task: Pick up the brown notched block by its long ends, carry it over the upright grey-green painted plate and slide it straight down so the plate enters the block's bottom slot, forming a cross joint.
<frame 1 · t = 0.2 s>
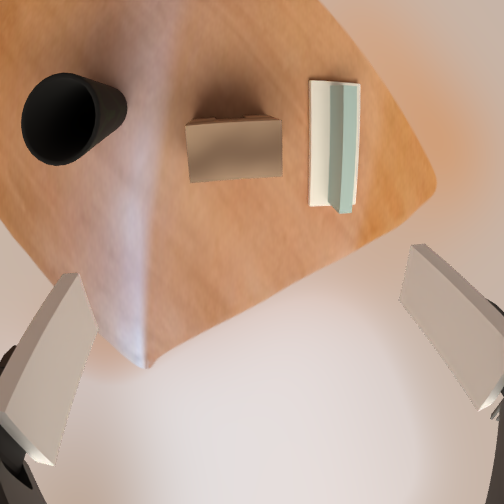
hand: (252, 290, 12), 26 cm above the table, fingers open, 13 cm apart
brown notched block: (230, 137, 34), on the table
slot plate: (333, 143, 35), on the table
cup: (104, 110, 31), on the table
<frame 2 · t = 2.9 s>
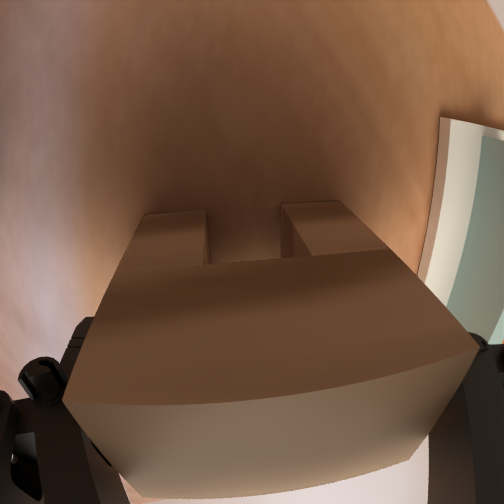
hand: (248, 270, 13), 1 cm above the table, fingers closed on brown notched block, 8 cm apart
brown notched block: (246, 261, 14), on the table, touching gripper
slot plate: (459, 257, 15), on the table
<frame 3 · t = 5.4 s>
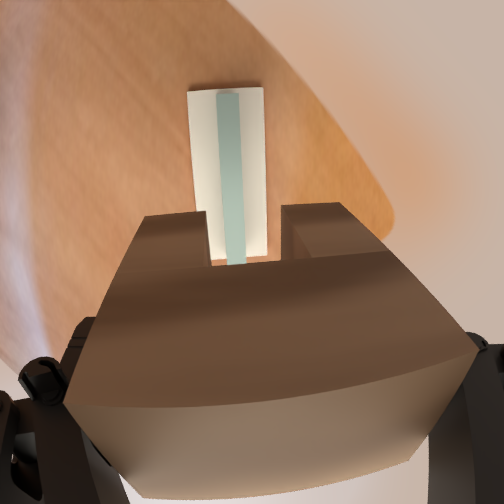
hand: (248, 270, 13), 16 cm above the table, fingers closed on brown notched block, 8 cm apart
brown notched block: (246, 262, 14), point 15 cm above the table, touching gripper
slot plate: (229, 175, 27), on the table
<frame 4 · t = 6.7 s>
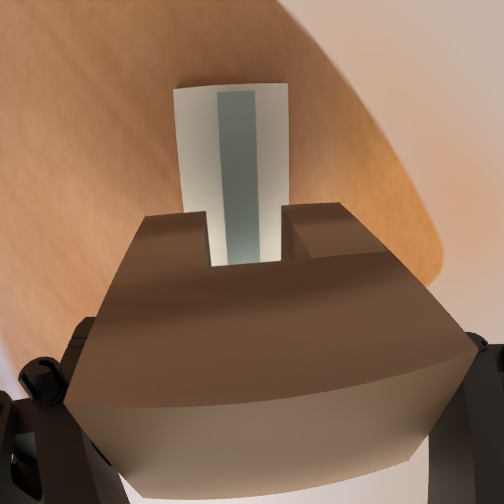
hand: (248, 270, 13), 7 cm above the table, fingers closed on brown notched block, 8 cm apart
brown notched block: (246, 263, 14), point 6 cm above the table, touching gripper
slot plate: (236, 212, 19), on the table
when the fingers open (3 cm above the table, at t = 7.9 s): brown notched block drops 1 cm, resting on slot plate.
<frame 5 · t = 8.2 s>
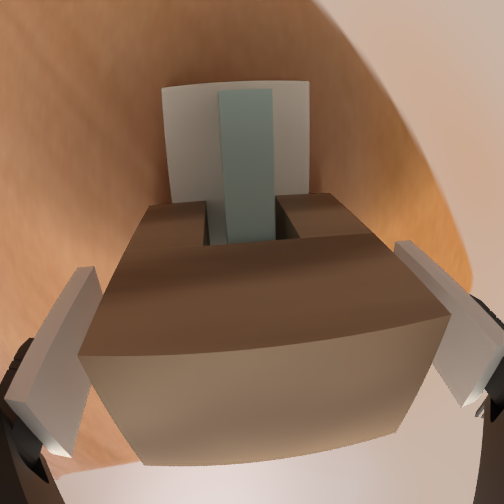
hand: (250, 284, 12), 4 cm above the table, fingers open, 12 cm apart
brown notched block: (243, 249, 15), point 1 cm above the table, touching slot plate
slot plate: (242, 242, 16), on the table
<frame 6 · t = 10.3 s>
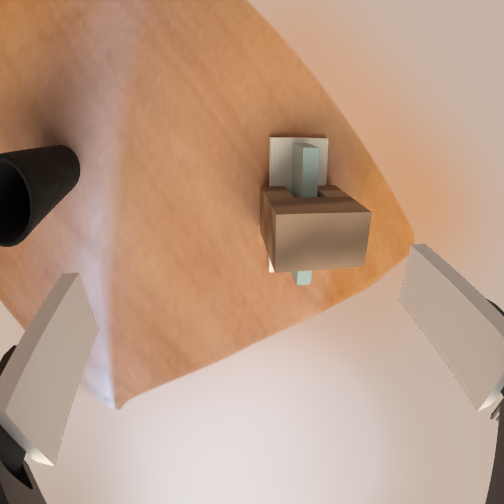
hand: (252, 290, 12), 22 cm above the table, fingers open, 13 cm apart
brown notched block: (297, 208, 34), point 1 cm above the table, touching slot plate
slot plate: (296, 206, 34), on the table
cup: (59, 169, 30), on the table
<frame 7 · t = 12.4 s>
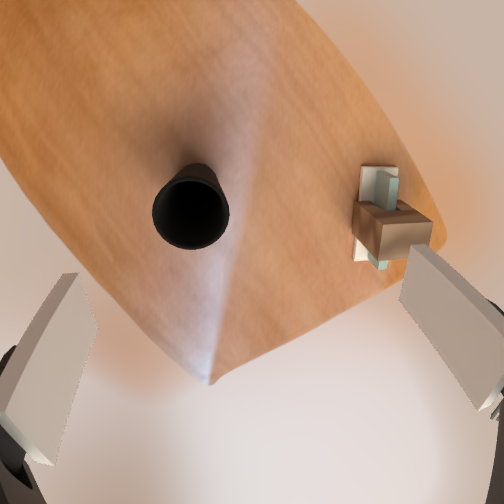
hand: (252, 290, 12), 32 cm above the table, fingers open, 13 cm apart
brown notched block: (376, 215, 46), point 1 cm above the table, touching slot plate
slot plate: (374, 214, 46), on the table
cup: (196, 183, 42), on the table
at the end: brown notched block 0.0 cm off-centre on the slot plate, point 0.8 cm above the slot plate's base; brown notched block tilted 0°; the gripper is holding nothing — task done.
